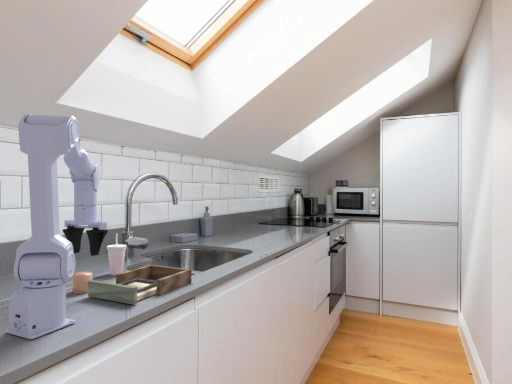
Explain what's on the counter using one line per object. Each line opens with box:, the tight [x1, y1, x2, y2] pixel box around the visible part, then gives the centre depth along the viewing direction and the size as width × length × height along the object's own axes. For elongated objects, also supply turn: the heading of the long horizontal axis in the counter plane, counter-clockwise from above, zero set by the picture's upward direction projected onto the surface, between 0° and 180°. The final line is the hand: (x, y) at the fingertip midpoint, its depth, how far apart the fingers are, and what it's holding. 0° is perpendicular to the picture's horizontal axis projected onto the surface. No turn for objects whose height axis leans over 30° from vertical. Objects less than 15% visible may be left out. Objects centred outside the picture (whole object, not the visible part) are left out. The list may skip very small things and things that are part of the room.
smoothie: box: [106, 232, 128, 276], centre depth 115 cm, size 6×6×14 cm
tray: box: [87, 278, 157, 306], centre depth 93 cm, size 15×16×4 cm
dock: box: [115, 264, 193, 296], centre depth 102 cm, size 15×16×4 cm
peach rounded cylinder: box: [71, 271, 94, 295], centre depth 95 cm, size 5×5×5 cm
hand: (85, 254), depth 95 cm, fingers open, 7 cm apart
